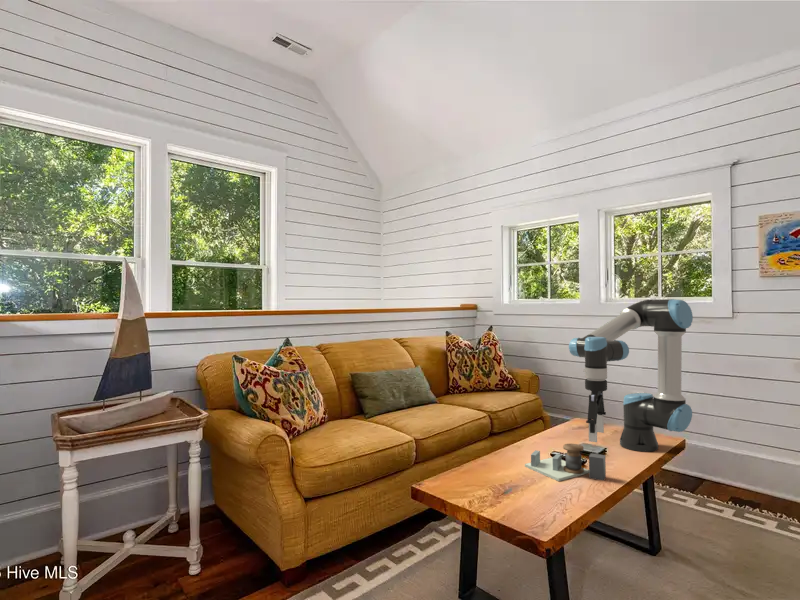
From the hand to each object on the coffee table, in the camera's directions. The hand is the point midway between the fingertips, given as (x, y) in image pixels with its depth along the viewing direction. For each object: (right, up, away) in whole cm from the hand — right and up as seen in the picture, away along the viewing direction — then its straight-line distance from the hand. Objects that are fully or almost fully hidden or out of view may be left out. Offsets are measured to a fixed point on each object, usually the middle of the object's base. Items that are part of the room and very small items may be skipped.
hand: (596, 436), depth 175 cm
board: (-12, -15, +9) cm, 21 cm away
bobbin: (-7, -15, +5) cm, 17 cm away
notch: (-15, -15, +10) cm, 24 cm away
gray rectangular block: (0, -15, 0) cm, 15 cm away
